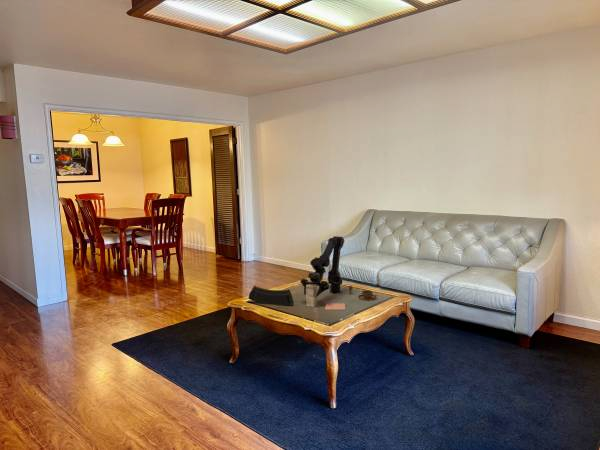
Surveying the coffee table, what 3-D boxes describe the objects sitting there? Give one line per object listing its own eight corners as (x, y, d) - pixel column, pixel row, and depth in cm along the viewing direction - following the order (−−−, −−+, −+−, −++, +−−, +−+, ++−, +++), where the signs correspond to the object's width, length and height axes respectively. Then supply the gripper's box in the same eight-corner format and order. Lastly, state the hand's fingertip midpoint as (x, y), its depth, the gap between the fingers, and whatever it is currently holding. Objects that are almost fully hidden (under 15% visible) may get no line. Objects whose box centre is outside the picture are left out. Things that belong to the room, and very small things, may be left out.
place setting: (358, 302, 264) (358, 293, 264) (347, 294, 284) (347, 286, 283) (383, 300, 269) (383, 291, 268) (370, 292, 288) (370, 284, 287)
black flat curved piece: (297, 291, 259) (255, 275, 268) (295, 292, 256) (253, 276, 265) (290, 315, 263) (249, 299, 271) (288, 317, 260) (247, 300, 268)
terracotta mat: (325, 304, 261) (325, 303, 261) (344, 304, 260) (344, 303, 260) (325, 309, 249) (325, 309, 249) (345, 310, 248) (345, 309, 248)
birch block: (310, 303, 263) (309, 283, 261) (317, 304, 260) (316, 284, 259) (306, 305, 258) (305, 285, 257) (313, 306, 256) (312, 286, 254)
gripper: (301, 266, 265) (292, 287, 257) (327, 269, 255) (319, 290, 247) (307, 275, 273) (299, 296, 264) (333, 278, 263) (325, 299, 255)
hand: (310, 295), depth 257 cm, fingers open, 8 cm apart
